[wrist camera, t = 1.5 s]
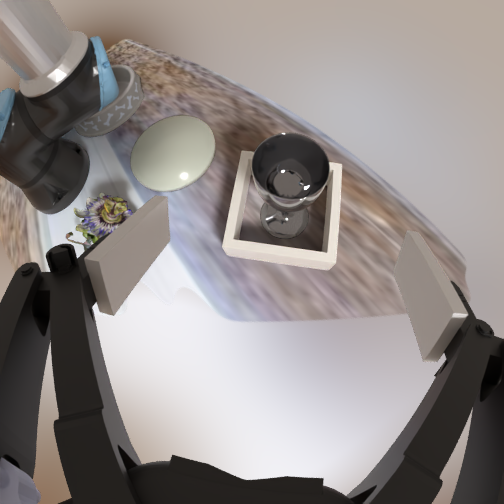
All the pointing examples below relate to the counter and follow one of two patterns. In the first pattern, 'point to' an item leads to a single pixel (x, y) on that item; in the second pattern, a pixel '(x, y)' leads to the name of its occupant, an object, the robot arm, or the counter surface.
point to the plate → (173, 153)
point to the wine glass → (288, 181)
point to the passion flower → (100, 218)
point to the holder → (282, 253)
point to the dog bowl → (115, 104)
